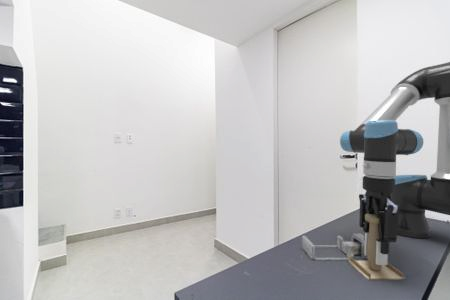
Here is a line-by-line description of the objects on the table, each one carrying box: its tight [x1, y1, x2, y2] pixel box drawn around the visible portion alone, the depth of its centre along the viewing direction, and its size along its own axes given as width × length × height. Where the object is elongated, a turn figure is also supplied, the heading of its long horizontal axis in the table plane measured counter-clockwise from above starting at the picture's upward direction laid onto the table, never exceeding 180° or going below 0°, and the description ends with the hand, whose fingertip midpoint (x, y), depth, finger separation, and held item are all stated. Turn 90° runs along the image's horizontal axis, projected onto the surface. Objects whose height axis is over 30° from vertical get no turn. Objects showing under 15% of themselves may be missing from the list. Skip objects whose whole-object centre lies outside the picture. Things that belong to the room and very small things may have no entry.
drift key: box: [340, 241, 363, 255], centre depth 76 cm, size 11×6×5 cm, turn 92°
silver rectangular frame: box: [301, 235, 355, 261], centre depth 76 cm, size 13×9×4 cm
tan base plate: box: [347, 257, 406, 281], centre depth 66 cm, size 10×9×2 cm
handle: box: [365, 213, 382, 271], centre depth 66 cm, size 5×6×15 cm
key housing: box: [350, 233, 368, 260], centre depth 76 cm, size 5×7×5 cm
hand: (375, 259), depth 66 cm, fingers open, 4 cm apart
